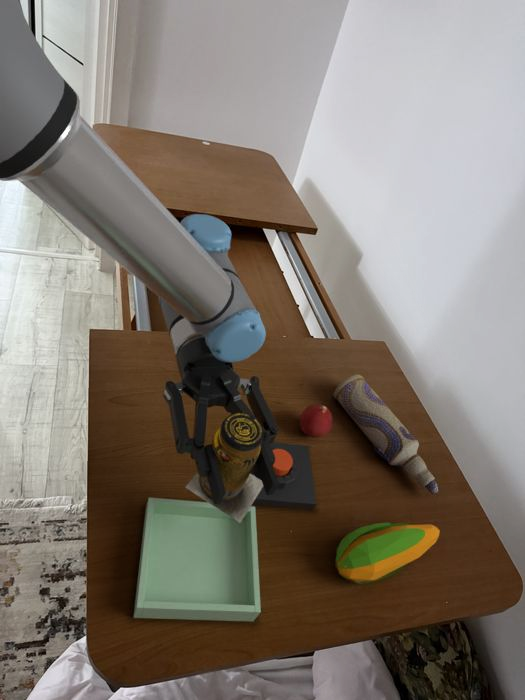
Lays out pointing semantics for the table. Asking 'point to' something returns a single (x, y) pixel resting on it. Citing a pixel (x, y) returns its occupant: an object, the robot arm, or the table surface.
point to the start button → (282, 462)
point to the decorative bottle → (383, 429)
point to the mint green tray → (197, 563)
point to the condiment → (234, 465)
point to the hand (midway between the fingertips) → (247, 493)
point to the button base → (291, 482)
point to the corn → (382, 550)
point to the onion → (316, 420)
